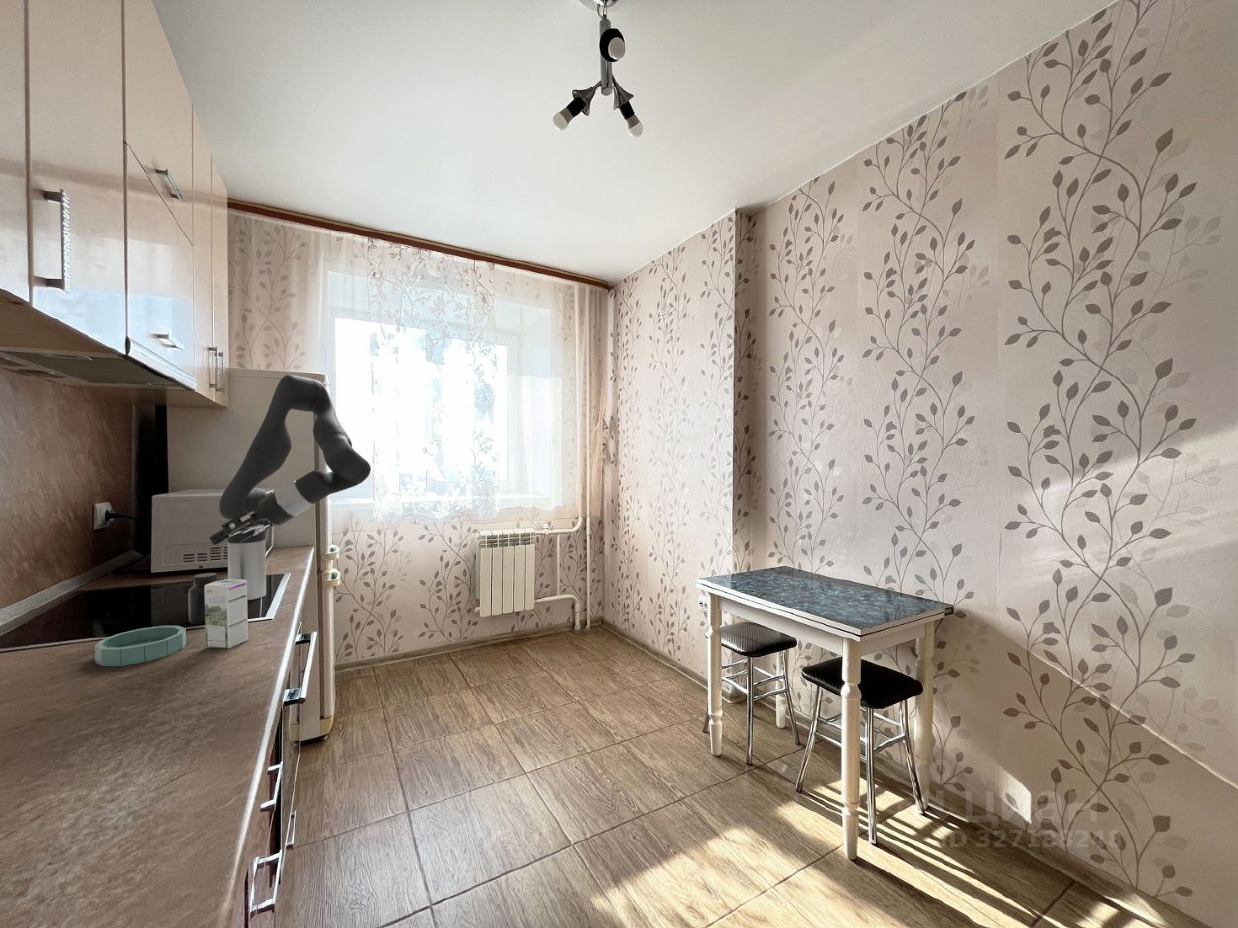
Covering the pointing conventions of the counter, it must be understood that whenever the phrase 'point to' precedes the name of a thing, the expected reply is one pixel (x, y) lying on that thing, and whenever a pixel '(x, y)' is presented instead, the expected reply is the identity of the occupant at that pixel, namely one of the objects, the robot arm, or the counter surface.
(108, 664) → the bowl
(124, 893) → the counter surface
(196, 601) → the supplement bottle
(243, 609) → the syrup box
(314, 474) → the robot arm
